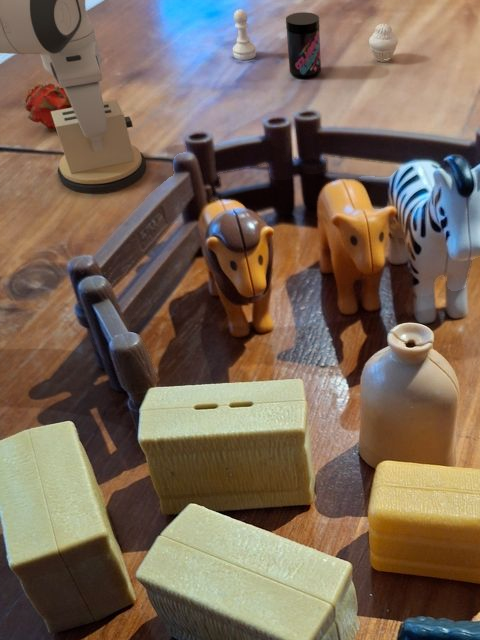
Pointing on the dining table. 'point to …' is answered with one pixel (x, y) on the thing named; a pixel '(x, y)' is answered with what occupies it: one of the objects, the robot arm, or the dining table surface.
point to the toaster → (100, 165)
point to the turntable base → (105, 186)
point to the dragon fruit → (45, 103)
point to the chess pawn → (242, 38)
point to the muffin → (383, 42)
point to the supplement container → (303, 45)
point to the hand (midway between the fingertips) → (94, 139)
